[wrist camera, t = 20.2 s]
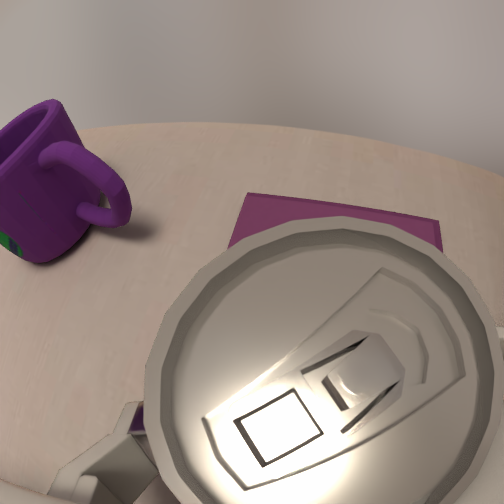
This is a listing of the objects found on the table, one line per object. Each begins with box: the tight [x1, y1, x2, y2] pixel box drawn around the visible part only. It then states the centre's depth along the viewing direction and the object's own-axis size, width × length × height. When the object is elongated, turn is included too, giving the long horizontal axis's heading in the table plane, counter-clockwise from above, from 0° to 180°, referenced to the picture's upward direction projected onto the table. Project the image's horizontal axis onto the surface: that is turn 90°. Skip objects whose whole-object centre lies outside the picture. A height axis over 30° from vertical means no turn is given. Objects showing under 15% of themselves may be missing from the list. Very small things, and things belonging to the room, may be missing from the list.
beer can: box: [143, 216, 504, 504], centre depth 8 cm, size 5×5×12 cm
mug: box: [0, 99, 132, 263], centre depth 18 cm, size 17×11×10 cm, turn 72°
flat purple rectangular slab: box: [227, 193, 443, 253], centre depth 17 cm, size 14×9×1 cm, turn 76°
